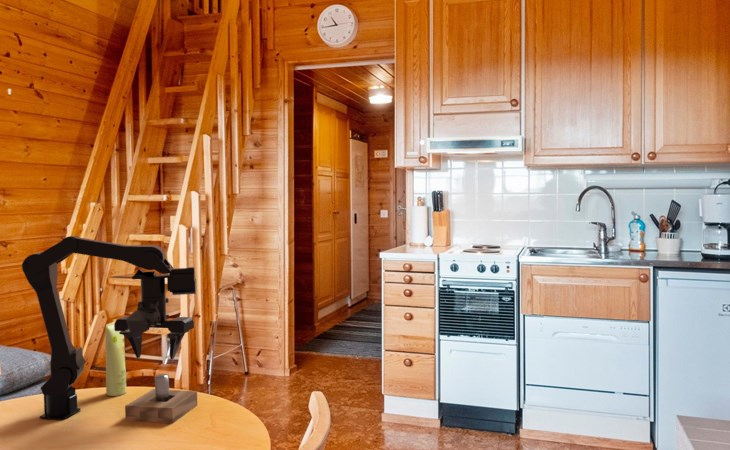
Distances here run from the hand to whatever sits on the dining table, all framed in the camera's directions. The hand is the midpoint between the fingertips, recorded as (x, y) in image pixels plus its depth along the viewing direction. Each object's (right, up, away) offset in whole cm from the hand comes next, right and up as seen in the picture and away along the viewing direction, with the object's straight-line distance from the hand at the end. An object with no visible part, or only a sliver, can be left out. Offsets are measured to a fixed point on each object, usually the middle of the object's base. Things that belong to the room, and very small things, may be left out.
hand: (155, 358), depth 143 cm
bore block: (+3, -12, -4) cm, 13 cm away
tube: (-14, -12, +10) cm, 21 cm away
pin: (+3, -11, -4) cm, 12 cm away
